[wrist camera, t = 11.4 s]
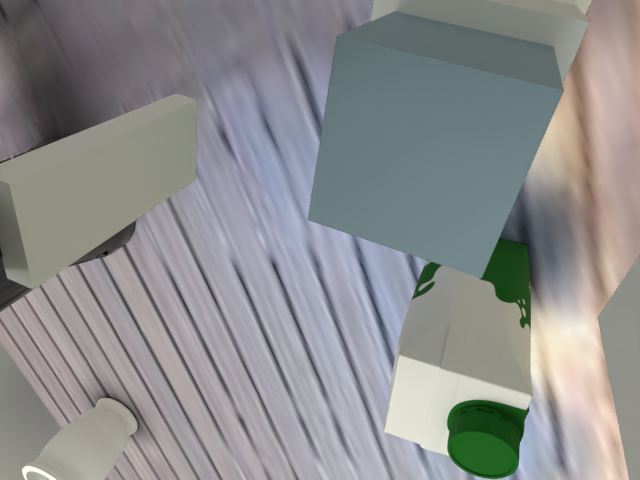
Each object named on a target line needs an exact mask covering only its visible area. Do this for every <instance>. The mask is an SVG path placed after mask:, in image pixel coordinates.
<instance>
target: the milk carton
mask: <svg viewBox="0 0 640 480" xmlns="http://www.w3.org/2000/svg"><path fill="white" fill-rule="evenodd" d="M530 333H531V293H530V275H529V260H528V245H527V244H523V243H518V242H514V241H509V240H505V239H500V238H499V239H498V242H497V244H496V246H495V248H494V251H493V253H492V255H491V258H490V260H489V262H488V264H487V267H486V269H485V271H484V274H483V276H482V278H479V277H476V276H473V275H470V274H467V273H464V272H461V271H458V270H455V269H452V268H449V267H446V266H443V265H440V264H437V263H434V262H431V261H427V263H426V264H425V266H424V268H423V271H422V273H421V275H420V278H419V281H418V283H417V286H416V289H415V292H414V295H413V298H412V301H411V303H410V306H409V309H408V312H407V315H406V318H405V321H404V324H403V326H402V329H401V332H400V336H399V340H398V345H397V350H396V356H395V361H394V366H393V373H392V380H391V388H390V395H389V402H388V410H387V417H386V424H385V432H387V433H389V434H392V435H395V436H398V437H401V438H404V439H406V440H409V441H412V442H415V443H418V444H420V447H422V448H425V449H427V450H430V451H433V452H439V453H442V454H445V455H448V456H450V458H451V459H452V461H453V462H454V463H455V464H456V465H457V466H459V467H460V468H461V469H463V470H464V471H466V472H468V473H470V474H473V475H475V476H478V477H482V478H489V479H498V478H504V477H507V476H509V475H511V474H512V473H514V472H515V471H516V469H517V467H518V463H519V446H520V442H521V439H522V437H523V433H524V421H525V419H526V416H527V414H528V412H529V407H528V406H529V404H530V402H531V400H532V397H533V391H532V384H531V375H530Z"/></svg>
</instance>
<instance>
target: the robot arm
mask: <svg viewBox="0 0 640 480" xmlns="http://www.w3.org/2000/svg"><path fill="white" fill-rule="evenodd" d="M196 141H197V100H195V99H192V98H189V97H185V96H182V95H179V94H174V95H171V96H169V97H166V98H164V99H161V100H158V101H156V102H153V103H151V104H148V105H146V106H143V107H141V108H138V109H136V110H133V111H131V112H128V113H126V114H123V115H121V116H118V117H116V118H113V119H111V120H108V121H106V122H103V123H101V124H98V125H96V126H93V127H91V128H88V129H86V130H83V131H81V132H78V133H76V134H73V135H71V136H68V137H66V138H54V139H51V140H48V141H46V142H43V143H40V144H38V145H36V146H34V147H32V148H31V149H29V150H28V151H27V152H26V153H25V152H24V153H22V154H19V155H17V156H14V158H13V159H11V158H9V159H6V160H4V161H1V162H0V312H1V311H3V310H4V309H6V308H7V307H8V306H10V305H11V304H13V303H14V302H16V301H17V300H19V299H20V298H22V297H23V296H25V295H26V294H27V293H29V292H30V291H32V290H34V289H36V288H37V287H38V286H40V285H41V284H43V283H44V282H46V281H47V280H49V279H50V278H52V277H53V276H55V275H56V274H58V273H59V272H60V271H62V270H63V269H65V268H66V267H70V266H73V265H77V264H81V263H84V262H88V261H91V260H94V259H98V258H102V257H106V256H108V255H110V254H112V253H114V252H115V251H117V250H118V249H119V248H121V247H122V246H124V245H125V244H126V243H127V242H128V241H129V240H130V238H131V236H132V234H133V231H134V225H135V220H137V219H138V218H140V217H141V216H143V215H144V214H146V213H147V212H148V211H150V210H151V209H153V208H154V207H156V206H157V205H159V204H160V203H162V202H163V201H165V200H166V199H168V198H169V197H170V196H172V195H173V194H175V193H176V192H178V191H179V190H181V189H182V188H184V187H185V186H187V185H188V184H190V183H191V182H192V181H194V180H195V179H196ZM598 322H599V327H600V332H601V337H602V342H603V347H604V352H605V357H606V363H607V368H608V373H609V378H610V383H611V388H612V393H613V398H614V403H615V409H616V414H617V419H618V424H619V429H620V434H621V439H622V444H623V449H624V454H625V460H626V465H627V470H628V475H629V480H640V255H639V257H638V258H637V260H636V261H635V263H634V264H633V266H632V267H631V269H630V270H629V272H628V273H627V275H626V276H625V278H624V279H623V281H622V282H621V284H620V285H619V286H618V288H617V289H616V291H615V292H614V294H613V295H612V297H611V298H610V300H609V301H608V303H607V304H606V306H605V307H604V309H603V310H602V312H601V313H600V315H599V316H598Z"/></svg>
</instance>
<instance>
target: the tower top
mask: <svg viewBox="0 0 640 480" xmlns="http://www.w3.org/2000/svg"><path fill="white" fill-rule="evenodd" d="M394 11H396V12H400V13H405V14H409V15H414V16H418V17H423V18H427V19H432V20H436V21H441V22H445V23H450V24H454V25H459V26H463V27H468V28H472V29H477V30H481V31H486V32H490V33H495V34H499V35H504V36H508V37H513V38H518V39H522V40H527V41H531V42H536V43H540V44H545V45H549V46H554V50H555V54H556V59H557V63H558V67H559V72H560V76H561V80H562V85H563V83H564V81H565V78H566V76H567V74H568V72H569V69H570V67H571V65H572V62H573V60H574V58H575V55H576V53H577V51H578V49H579V46H580V44H581V42H582V39H583V37H584V35H585V33H586V30H587V28H588V26H589V23H590V21H589V20H588V19H587V18H586V17H585V15H584V14H583V13H582V12H581V11H580V9H579V8H578V7H577V6H576V5H574V4H569V3H564V2H559V1H554V0H374V3H373V8H372V14H371V19H370V22H371V21H373V20H375V19H378V18H380V17H383V16H385V15H387V14H390V13H392V12H394Z"/></svg>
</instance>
